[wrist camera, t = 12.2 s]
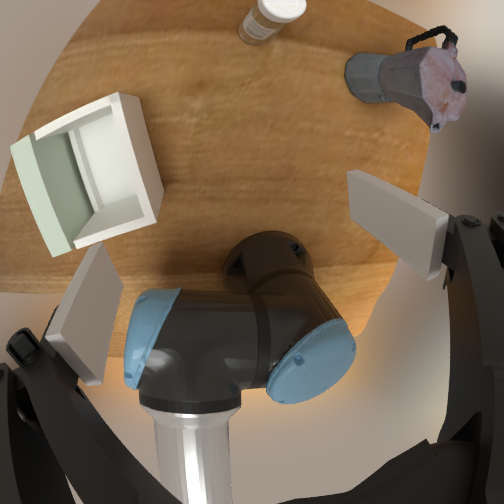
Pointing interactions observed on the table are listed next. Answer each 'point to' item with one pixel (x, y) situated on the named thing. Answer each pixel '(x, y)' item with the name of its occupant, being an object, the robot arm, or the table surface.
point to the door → (53, 189)
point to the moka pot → (414, 79)
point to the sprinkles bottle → (269, 19)
